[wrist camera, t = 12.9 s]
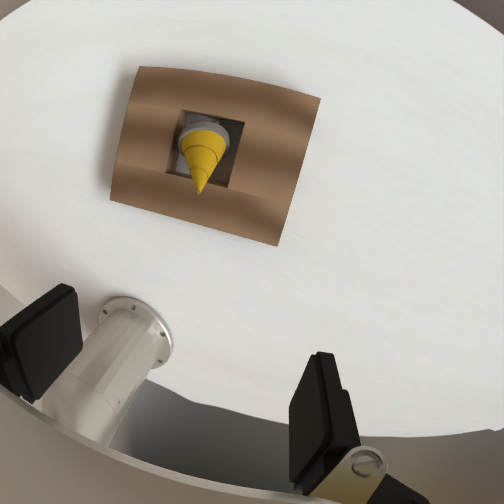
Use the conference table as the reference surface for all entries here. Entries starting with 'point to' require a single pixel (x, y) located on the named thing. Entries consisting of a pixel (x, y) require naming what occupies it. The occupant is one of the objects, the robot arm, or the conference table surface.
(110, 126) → the conference table surface
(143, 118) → the holder block
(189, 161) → the drill bit
